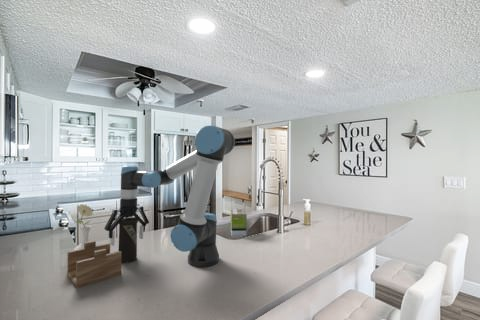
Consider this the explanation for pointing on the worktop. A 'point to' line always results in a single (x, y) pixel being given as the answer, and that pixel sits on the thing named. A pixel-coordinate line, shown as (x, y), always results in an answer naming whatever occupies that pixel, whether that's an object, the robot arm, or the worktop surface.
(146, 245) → the worktop surface
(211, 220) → the robot arm
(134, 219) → the container
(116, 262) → the holder
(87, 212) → the flower in vase
